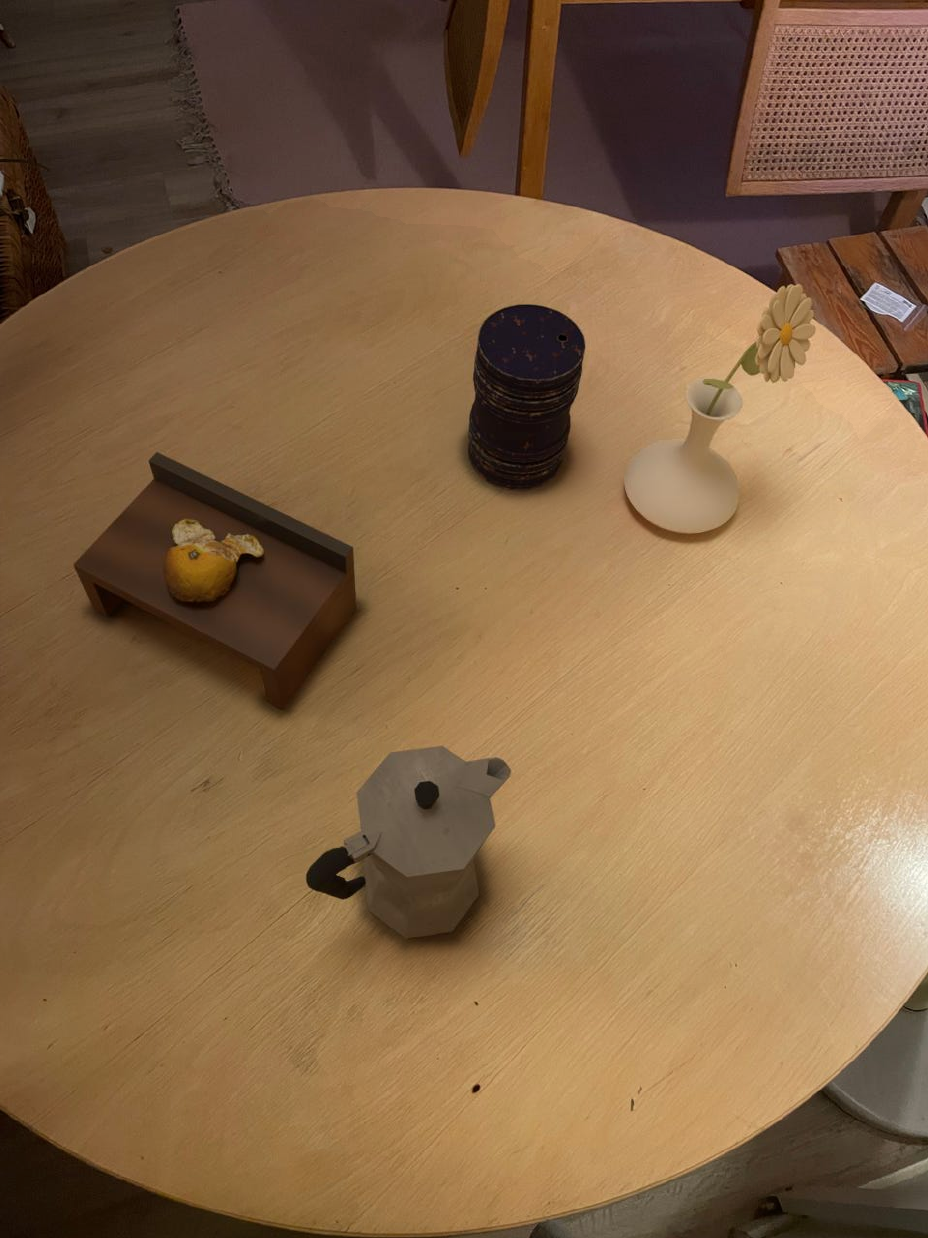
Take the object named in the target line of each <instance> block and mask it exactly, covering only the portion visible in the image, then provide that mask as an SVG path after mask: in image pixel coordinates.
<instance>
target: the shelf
mask: <svg viewBox="0 0 928 1238" xmlns="http://www.w3.org/2000/svg"><path fill="white" fill-rule="evenodd" d="M148 464H149V468H150V470H151V474H152V478H153V479H152V480H151V481H150V482H149V483H148V484H147V485H146V486H145V487H144V489H143V490H142V491H140V492H139V494H138V495H137V496H136V497H135V498H134V499H133V500H132V501H131V502H130V503H129V505H127V507H125V509H124V510H123V511H122V512H121V513H120V514H119V515H118V516H117V517H116V518H115V519H114V521H112V522H111V524H110V525H109V526H108V527H107V528H106V529H105V530H104V531H103V532H102V533H101V534H100V535H99V536H98V538H96V539H95V540H94V542H93V543H92V544H91V545H90V546H89V547H88V548H87V549H86V550H85V551H84V553H82V554H81V556H80V557H79V558H78V559H77V560H76V561H75V562H74V563H73V567H74V569H75V572H76V574H77V575H78V578H79V580H80V583H81V584H82V587H83V589H84V591H85V593H86V596H87V598H88V600H89V602H90V604H91V607H92V609H93V610H94V611H95V612H97V613H99V614H101V615H103V616H105V617H107V618H108V617H109V616H110V615H111V614H112V613H113V612H114V611H115V610H116V608H117V607H118V606H119V605H120V604H121V603H122V602H123V600H125V601H127V602H129V603H131V604H133V605H135V606H136V607H139V608H141V609H142V610H144V611H147V612H148V613H150V614H152V615H154V616H156V617H157V618H159V619H161V620H164V621H165V622H166V623H169V624H171V625H173V626H175V627H177V628H179V629H181V631H184V632H185V633H186V632H187V633H188V634H190V635H192V636H193V637H196V638H198V639H199V640H201V641H203V642H205V643H208V644H209V645H210V646H212V647H215V648H217V649H218V650H221V651H222V652H224V653H226V654H228V655H229V656H232V657H233V658H235V659H238V660H240V661H241V662H243V663H245V664H247V665H249V666H250V667H252V668H255V669H257V670H259V672H260V673H259V674H260V676H261V677H260V678H261V680H262V686H263V690H264V695H265V700H266V702H267V703H268V704H270V705H272V706H273V707H275V708H277V709H279V710H281V711H283V710H284V709H285V708H286V706H287V704H288V703H289V702H290V700H291V699H292V698H293V696H294V695H295V694H296V692H297V691H298V689H299V688H300V686H301V685H302V684H303V682H305V680H306V679H307V677H308V676H309V674H310V673H311V672H312V670H313V669H314V667H315V666H316V664H317V663H318V662H319V660H321V658H322V656H323V655H324V653H326V651H327V650H328V648H329V647H330V646H331V644H332V642H333V641H334V640H335V638H336V637H337V636H338V634H339V633H340V632H341V630H342V629H343V628H344V626H345V625H346V624H347V622H348V620H349V619H350V618H351V617H352V615H353V614H354V613H355V611H356V610H357V595H356V575H355V559H354V558H355V557H354V556H355V554H354V546H352V545H349V544H348V543H346V542H344V541H342V540H340V539H337V538H335V537H333V536H331V535H329V534H328V533H325V532H324V531H321V530H319V529H317V528H315V527H313V526H311V525H308V524H307V523H304V522H302V521H301V520H298V519H296V518H294V517H292V516H290V515H288V514H286V513H284V512H282V511H279V510H278V509H276V508H273V507H272V506H270V505H267V504H266V503H263V502H261V501H259V500H257V499H255V498H253V497H251V496H249V495H247V494H245V493H243V492H240V491H238V490H236V489H235V488H232V487H231V486H228V485H227V484H225V483H222V482H220V481H219V480H216V479H214V478H212V477H210V476H207V475H206V474H204V473H202V472H199V471H197V470H195V469H194V468H191V467H189V466H186V465H185V464H183V463H181V462H178V461H177V460H174V459H172V458H171V457H168V456H166V455H165V454H162V453H161V452H158V451H156V452H155V453H154V454H153V455H152V456H151V457H150V458H149V459H148ZM184 519H191V520H192V519H193V520H197V521H198V522H199V524H200V525H201V526H202V527H203V528H204V529H208V530H210V531H211V532H213V534H214V536H215V538H214V539H213V540H215V541H217V542H219V543H221V541H223V540H225V538H226V537H227V536H228V534H229V533H230V534H231V535H233V536H237V535H247V534H249V535H251V536H254V537H255V538H256V539H257V540H258V541H259V543H260V545H261V546H262V548H263V549H264V554H263V556H262V557H255V556H253V555H252V554H250V553H243V554H241V555H240V557H239V559H238V561H237V562H236V575H235V576H234V579H233V581H232V583H231V585H230V587H229V588H230V590H228V591H227V592H226V594H224V595H220V596H218V597H217V598H216V600H214V601H209V602H207V601H201V602H196V601H193V602H189V601H187V602H183V601H180V600H176V599H175V598H174V597H173V596H172V595H171V592H170V590H169V587H168V585H167V584H166V583H165V579H164V573H163V572H164V570H163V564H164V561H165V557H166V555H167V553H168V551H169V550H170V548H172V547H176V546H177V544H176V543H174V540H173V534H172V531H173V527H174V525H175V524H177V523H179V522H180V521H182V520H184Z"/></svg>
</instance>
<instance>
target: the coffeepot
mask: <svg viewBox="0 0 928 1238" xmlns="http://www.w3.org/2000/svg"><path fill="white" fill-rule="evenodd" d="M511 772H512V770H511V768H510V766H509V765H508V763H507V762H506V761H505V760H503V759H502V758H499V757H497V756H495V757H486V758H480V759H475V760H469V761H468V760H467V761H466V760H465V759H463V758H462V757H460V756H458V755H457V754H456V753H454V752H453V751H451V750H450V749H448V748H447V747H445V746H444V745H437V746H429V747H421V748H415V749H414V748H413V749H406V750H399V751H391V752H389V753H388V754H387V755H386V757H385V758H384V759H383V760H382V761H381V763H379V765H378V766H377V767H376V768H375V769H374V771H373V772H372V773H371V774H370V775H369V777H368V778H367V779H366V781H365V782H364V783H363V784H362V785H361V786H360V788H359V789H358V790H357V791H356V799H357V807H358V808H357V809H358V817H359V824H360V830H359V831H358V832H356V833H354V834H353V835H351V836H349V837H347V838H345V839H343V845H342V846H339V847H333V848H331V849H328V850H326V851H325V852H323V853H322V854H321V855H320V856H319V857H318V858H317V859H316V860H315V861H314V862H313V863H312V864H311V865H310V866H309V868H308V870H307V872H306V874H305V882H306V884H307V887H308V888H309V889H311V890H313V891H315V892H318V893H322V894H324V895H327V896H330V897H334V898H337V899H339V900H347V899H349V898H351V897H352V896H354V895H356V893H358V892H359V891H360V890H361V889H363V888H364V887H365V893H366V902H367V903H366V904H367V911H368V912H370V913H371V914H372V915H374V916H375V917H376V918H377V919H378V920H379V921H381V922H382V923H383V924H385V925H386V926H387V927H389V928H390V929H392V930H393V931H394V932H395V933H398V934H399V935H400V936H401V937H403V938H404V939H412V938H418V937H422V938H423V937H431V936H434V935H439V934H446V933H451V932H453V931H454V930H455V929H456V927H457V926H458V924H459V923H460V922H461V920H462V919H463V918H464V917H465V915H466V914H467V912H468V911H469V909H470V908H471V906H472V905H473V903H474V902H475V901H476V899H477V898H478V896H479V895H480V892H479V885H478V880H477V874H476V868H475V863H474V858H475V857H476V856H477V854H478V852H479V851H480V850H481V848H482V847H483V845H485V843H486V842H487V839H488V838H489V837H490V835H491V834H492V832H493V831H494V829H495V828H496V821H495V815H494V810H493V805H492V800H491V798H492V797H493V796H494V795H495V793H496V792H497V791H499V789H500V788H501V787H502V786H503V785H504V784H505V783H506V782H507V781H508V779H509V778H510V777H511ZM364 860H365V861H364ZM362 861H364V863H363V865H362V868H363V876H358V877H355V878H353V879H350V880H346V878H345V877H343V876H341V875H338V874H339V873H341V872H342V871H345V870H346V869H347V868H348V867H350V866H353V865H355V864H357V863H360V862H362Z"/></svg>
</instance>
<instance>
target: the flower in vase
mask: <svg viewBox="0 0 928 1238" xmlns="http://www.w3.org/2000/svg"><path fill="white" fill-rule="evenodd" d="M803 291H804V287H803V285H802V284H800V283H797V284H795V285H794V284H792V283H790V284H789V285H787V286H786V287H785V285H782V286H780V287H779V289H778V290H777V292H776V293H774V294H772V295H771V297H770V299H769V303H768V304H769V305H768V307H765V308H764V309H763V311H762V313H761V320H760V322H758V325H757V330H756V332H757V334H758V336H757V337H756V339H755V341H754V342H753V343H752V344H751V345H750V346H749V347H748V348H747V349H746V350H745V351H744V353H743V354H742V355H741V357H740V358H739V359H738V361H737V362H736V364H735V365H734V366H733V368H732V369H731V370H730V372H729V373H728V375H727V376H726V378H725V379H724V380H723V379H719V378H713V377H705V378H699V379H697V380H694V381H693V382H691V383H690V384H689V386H688V387H687V389H686V392H685V399H686V402H687V405H688V406H689V408H690V409H691V421H690V425H689V430H688V434H687V436H686V439H684V438H670V439H662V440H658V441H655V442H652V443H650V444H648V445H646V446H644V447H643V448H641V449H640V450H639V451H638V452H637V453H636V454H635V455H634V456H633V457H632V458H631V460H630V461H629V462H628V464H627V466H626V468H625V471H624V476H623V483H624V489H625V492H626V493H625V494H626V496H627V498H628V499H629V501H630V503H631V504H632V506H633V507H634V508H635V510H636V511H637V512H638V513H639V514H640V515H641V516H642V517H643V518H644V519H645V520H647V521H648V522H650V523H651V524H653V525H655V526H657V527H659V528H661V529H663V530H666V531H670V532H674V533H679V534H699V533H704V532H708V531H712V530H714V529H716V528H719V527H721V526H722V525H724V524H725V523H727V522H728V521H729V520H730V519H731V518H732V517H733V515H734V514H735V512H736V511H737V508H738V506H739V503H740V498H741V497H740V496H741V495H740V494H741V493H740V484H739V480H738V477H737V475H736V472H735V470H734V469H733V467H732V465H730V463H729V461H727V459H725V458H724V457H723V456H722V455H721V454H720V453H718V451H716V450H715V449H713V448H711V443H712V441H713V438H714V437H715V434H716V433H717V431H718V429H719V428H720V427H721V425H722V424H723V423H724V422H725V421H726V420H730V419H733V418H734V417H735V416H737V415H738V414H739V412H741V410H742V408H743V398H742V395H741V393H740V392H739V390H738V389H737V388H736V387H735V386H733V385H732V384H731V383H729V382H730V380H731V379H732V377H733V376H734V375H735V373H736V372H737V370H738V369H739V367H740V366H741V369H742V370H743V371H744V372H745V373H746V374H747V375H749V376H752V377H753V376H756V375H759V374H761V375H763V380H764V381H765V383H769V382H771V383H772V384H775V383H777V382H779V380H780V378H781V380H782V381H783V382H784V383H786V382H787V381H788V380H789V379H790V380H791V379H792V378H793V377H794V376H795V375H794V374H795V369H796V364H798V365H799V366H803V365H805V364H806V362H807V355H806V352H808V351H809V350H810V348H811V341H810V340H809V339H810V338H812V337H813V336H814V335H815V334H816V330H817V329H816V328H817V327H816V326H815V325H814V324H812V323H811V322H812V321H813V319H814V316H815V312H814V310H812V309H811V308H812V305H813V300H812V298H811V297H807V294H806V293H805V292H804V293H803Z"/></svg>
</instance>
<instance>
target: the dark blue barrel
mask: <svg viewBox="0 0 928 1238" xmlns="http://www.w3.org/2000/svg"><path fill="white" fill-rule="evenodd" d="M476 345H477V346H476V352H475V355H474V362H473V363H474V364H473V373H472V382H473V389H474V393H475V394H474V400H473V403H472V404H471V409H470V410H469V411H470V412H469V416H468V417H469V418H468V429H467V430H468V432H467V433H468V435H467V436H468V445H467V456H468V460H469V463H470V465H471V467H472V469H473V471H475V473H476V474H477V475H478V476H479V477H481V478H482V479H483V480H485V481H486V482H487V483H489V484H490V485H493V486H495V487H497V488H501V489H505V490H511V491H527V490H533V489H536V488H538V487H542V486H544V485H545V484H547V483H548V482H550V481H551V480H552V479H554V477H556V475H558V473H559V471H560V469H561V467H562V464H563V458H564V454H565V451H566V449H567V445H568V441H569V435H570V433H571V429H572V428H571V425H572V423H571V422H572V421H571V408H572V406H573V404H574V402H575V400H576V399H577V395H578V393H579V388H580V383H581V377H582V372H583V363H584V362H583V361H584V359H585V354H586V353H585V352H586V339H585V335H584V334H583V332H582V330H581V328H580V327H579V326H578V324H577V323H576V322H575V321H574V320H573V319H572V318H570V317H569V316H567V314H565V313H562V312H561V311H558V310H557V309H555V308H552V307H549V306H545V305H538V304H533V303H532V304H530V303H521V304H519V303H518V304H513V305H509V306H505V307H502V308H500V309H498V310H496V311H494V312H492V313H491V314H490V315H489V316H488V317H486V319H485V320H484V321H483V322H482V324H481V325H480V328H479V330H478V334H477V344H476Z"/></svg>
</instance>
